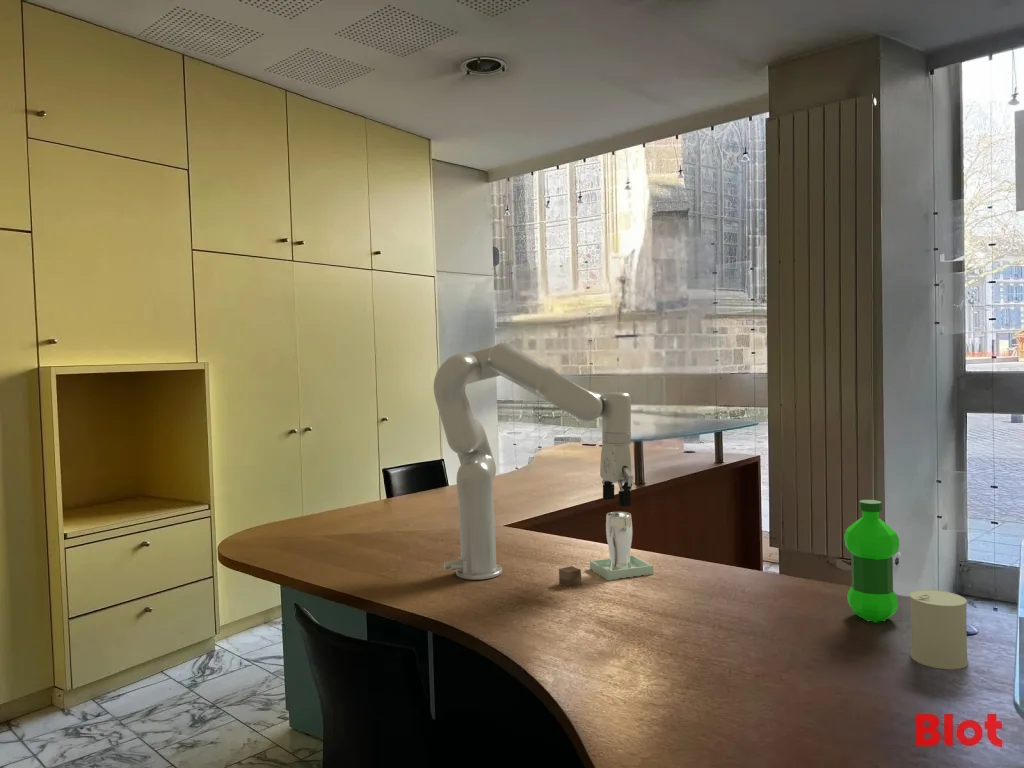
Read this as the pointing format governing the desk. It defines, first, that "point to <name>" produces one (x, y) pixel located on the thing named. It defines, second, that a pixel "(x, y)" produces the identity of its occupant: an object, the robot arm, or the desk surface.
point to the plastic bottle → (871, 564)
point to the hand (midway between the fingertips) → (616, 502)
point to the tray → (637, 569)
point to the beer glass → (619, 539)
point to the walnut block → (570, 576)
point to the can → (938, 629)
